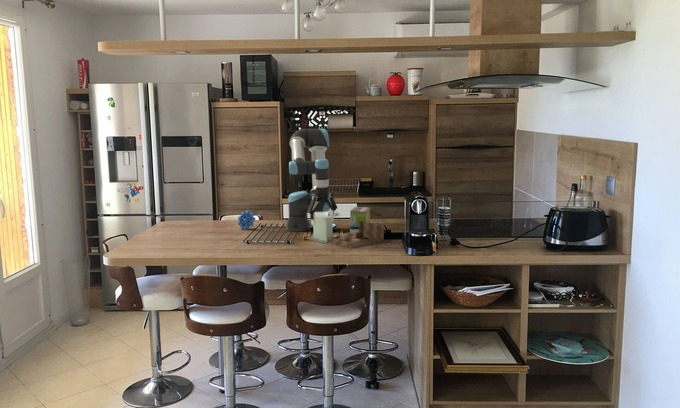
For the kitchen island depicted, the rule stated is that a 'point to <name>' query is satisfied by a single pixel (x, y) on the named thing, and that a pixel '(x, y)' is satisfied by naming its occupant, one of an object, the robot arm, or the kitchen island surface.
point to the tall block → (323, 227)
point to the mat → (317, 240)
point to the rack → (365, 230)
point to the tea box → (358, 217)
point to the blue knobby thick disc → (246, 219)
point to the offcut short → (348, 236)
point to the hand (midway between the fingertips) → (322, 223)
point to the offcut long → (349, 240)
